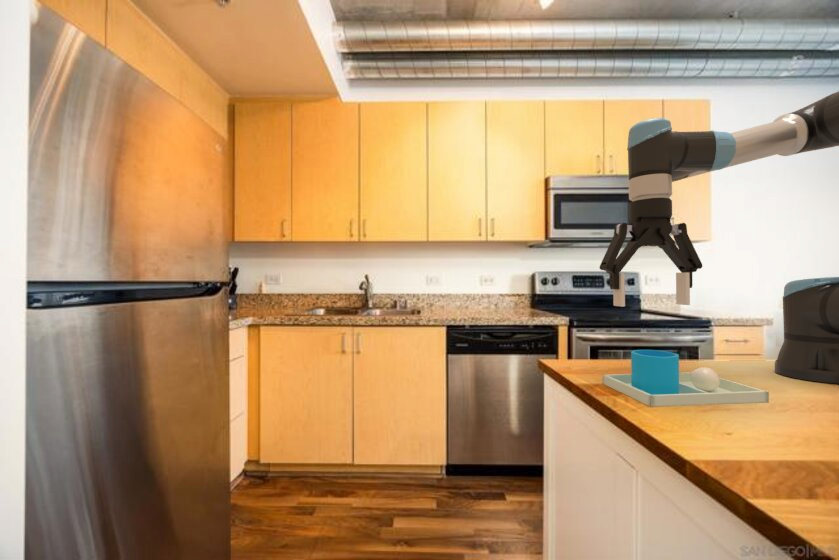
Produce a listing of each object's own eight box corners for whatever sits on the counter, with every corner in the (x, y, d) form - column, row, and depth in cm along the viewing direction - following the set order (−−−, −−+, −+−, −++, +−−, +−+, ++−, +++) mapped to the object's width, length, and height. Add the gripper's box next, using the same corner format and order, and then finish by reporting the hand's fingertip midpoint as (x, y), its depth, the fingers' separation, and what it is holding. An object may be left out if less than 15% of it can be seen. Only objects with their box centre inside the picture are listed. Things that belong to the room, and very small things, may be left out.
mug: (675, 403, 73) (675, 359, 73) (626, 395, 78) (626, 354, 78) (685, 389, 82) (684, 350, 82) (640, 382, 87) (640, 345, 87)
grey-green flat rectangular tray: (700, 382, 89) (700, 371, 89) (768, 405, 73) (768, 391, 73) (602, 386, 87) (602, 374, 87) (650, 409, 71) (650, 396, 71)
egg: (706, 387, 83) (706, 364, 83) (726, 393, 78) (726, 369, 78) (685, 388, 83) (685, 365, 83) (703, 394, 78) (703, 370, 78)
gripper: (693, 203, 84) (694, 302, 84) (581, 203, 82) (582, 305, 82) (723, 196, 77) (724, 305, 77) (600, 195, 75) (602, 308, 75)
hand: (651, 305), depth 79 cm, fingers open, 13 cm apart
